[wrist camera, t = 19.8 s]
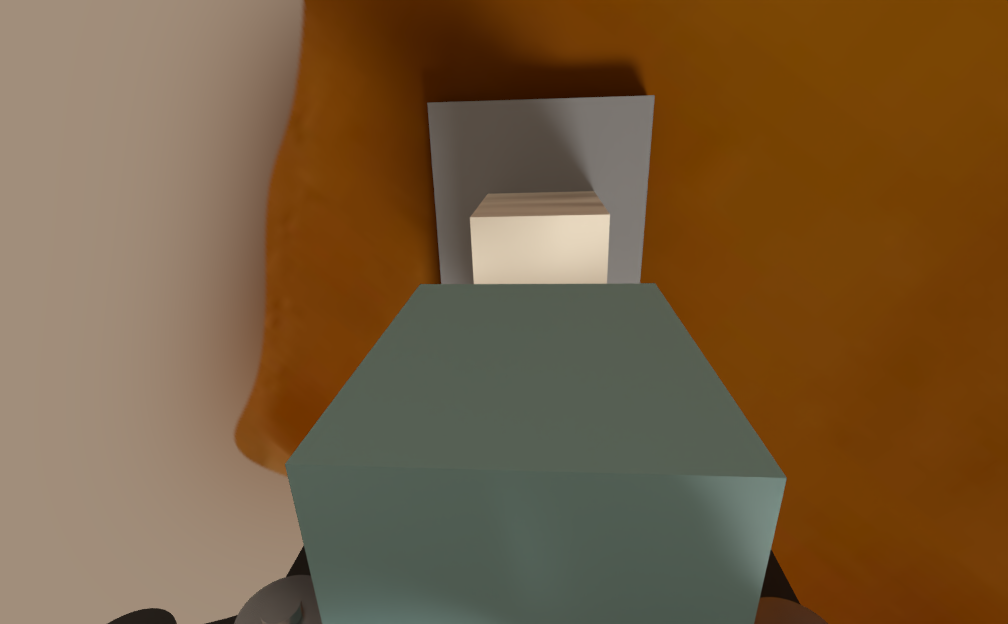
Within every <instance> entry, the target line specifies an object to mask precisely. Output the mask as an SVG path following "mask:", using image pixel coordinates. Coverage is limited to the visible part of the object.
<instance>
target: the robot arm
mask: <svg viewBox="0 0 1008 624" xmlns="http://www.w3.org/2000/svg"><path fill="white" fill-rule="evenodd" d="M108 624H177V623H176V620H175V618H174V617H173V615H172V614H171V613H169V612H167V611H166V610H163V609H157V608H156V609H155V608H150V609H142V610H138V611H134V612H131V613H129V614H126V615H124V616H121V617H119V618H117V619H115V620H113V621H111V622H110V623H108ZM206 624H322V620H321V616H320V612H319V608H318V603H317V599H316V595H315V590H314V586H313V582H312V578H311V573H310V569H309V565H308V560H307V556H306V552H305V548H304V546H303V548H302V550H301V551H300V553H299V555H298V557H297V559H296V560H295V562H294V564H293V566H292V567H291V569H290V571H289V573H288V574H287V576H286V577H285V578H282V579H279V580H277V581H274V582H272V583H270V584H269V585H267V586H265V587H264V588H262V589H261V590H259V591H258V592H257V593H256V594H255V595H253V596H252V597H251V598H250V599H249V600H248V602H246V604H245V605H244V606H243V608H242V609H241V610H240V612H239V614H238V615H236V616H233V617H230V618H227V619H222V620H218V621H214V622H211V623H206ZM754 624H828V623H827V622H826V621H825V620H823V619H822V618H821V617H820V616H818V615H817V614H816V613H814V612H813V611H811V610H809V609H808V608H806V607H804V606H802V605H801V604H800V603H799V601H798V599H797V597H796V596H795V594H794V592H793V590H792V588H791V586H790V584H789V582H788V580H787V579H786V577H785V575H784V573H783V571H782V569H781V567H780V565H779V563H778V562H777V560H776V558H775V556H774V554H773V552H772V550H770V555H769V559H768V564H767V568H766V573H765V577H764V581H763V586H762V590H761V595H760V599H759V604H758V608H757V613H756V617H755V622H754Z"/></svg>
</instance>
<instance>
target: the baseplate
mask: <svg viewBox="0 0 1008 624" xmlns="http://www.w3.org/2000/svg"><path fill="white" fill-rule="evenodd" d="M654 97H655V95H650V96H619V97H588V98H556V99H525V100H494V101H462V102H431V103H427V105H428V118H429V131H430V144H431V157H432V170H433V183H434V196H435V208H436V221H437V234H438V247H439V260H440V273H441V284H474V278H473V261H472V245H471V228H470V217H471V215H472V214H473V213H474V211H475V210H476V209H477V207H478V206H479V205H480V203H481V202H482V201H483V199H484V198H485V197H486V195H487V194H498V193H538V192H579V191H594V192H595V193H596V195H597V196H598V198H599V199H600V201H601V202H602V203H603V205H604V206H605V208H606V209H607V211H608V212H609V214H610V226H609V248H608V271H607V284H640V275H641V262H642V250H643V237H644V224H645V211H646V199H647V186H648V173H649V160H650V148H651V135H652V122H653V109H654Z"/></svg>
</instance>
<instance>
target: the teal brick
mask: <svg viewBox="0 0 1008 624" xmlns="http://www.w3.org/2000/svg"><path fill="white" fill-rule="evenodd" d="M285 466H286V470H287V475H288V479H289V483H290V487H291V492H292V496H293V500H294V504H295V509H296V513H297V517H298V522H299V526H300V530H301V535H302V539H303V543H304V548H305V552H306V556H307V560H308V565H309V569H310V573H311V578H312V582H313V586H314V590H315V595H316V599H317V603H318V608H319V612H320V616H321V620H322V624H754V622H755V617H756V613H757V608H758V604H759V599H760V595H761V590H762V586H763V581H764V577H765V573H766V568H767V564H768V559H769V555H770V550H771V546H772V541H773V537H774V532H775V528H776V523H777V519H778V514H779V510H780V506H781V501H782V497H783V492H784V488H785V483H786V479H787V478H786V476H785V475H784V473H783V472H782V470H781V469H780V467H779V466H778V464H777V463H776V461H775V460H774V458H773V457H772V456H771V454H770V453H769V451H768V450H767V448H766V447H765V445H764V444H763V442H762V441H761V439H760V438H759V436H758V435H757V433H756V432H755V430H754V429H753V427H752V426H751V425H750V423H749V422H748V420H747V419H746V417H745V416H744V414H743V413H742V411H741V410H740V408H739V407H738V405H737V404H736V402H735V401H734V399H733V398H732V396H731V395H730V393H729V392H728V391H727V389H726V388H725V386H724V385H723V383H722V382H721V380H720V379H719V377H718V376H717V374H716V373H715V371H714V370H713V368H712V367H711V365H710V364H709V362H708V361H707V360H706V358H705V357H704V355H703V354H702V352H701V351H700V349H699V348H698V346H697V345H696V343H695V342H694V340H693V339H692V337H691V336H690V334H689V333H688V331H687V330H686V328H685V327H684V326H683V324H682V323H681V321H680V320H679V318H678V317H677V315H676V314H675V312H674V311H673V309H672V308H671V306H670V305H669V303H668V302H667V300H666V299H665V297H664V296H663V294H662V293H661V292H660V290H659V289H658V287H657V286H656V284H655V283H645V284H420V285H419V287H418V288H417V289H416V291H415V292H414V293H413V295H412V296H411V297H410V299H409V300H408V301H407V303H406V304H405V305H404V307H403V308H402V309H401V311H400V312H399V313H398V315H397V316H396V317H395V319H394V320H393V321H392V323H391V324H390V325H389V327H388V328H387V329H386V331H385V332H384V333H383V335H382V336H381V337H380V339H379V340H378V341H377V343H376V344H375V345H374V347H373V348H372V349H371V351H370V352H369V353H368V355H367V356H366V357H365V359H364V360H363V361H362V363H361V364H360V365H359V367H358V368H357V369H356V371H355V372H354V373H353V374H352V376H351V377H350V378H349V380H348V381H347V382H346V384H345V385H344V386H343V388H342V389H341V390H340V392H339V393H338V394H337V396H336V397H335V398H334V400H333V401H332V402H331V404H330V405H329V406H328V408H327V409H326V410H325V412H324V413H323V414H322V416H321V417H320V418H319V420H318V421H317V422H316V424H315V425H314V426H313V428H312V429H311V430H310V432H309V433H308V434H307V436H306V437H305V438H304V440H303V441H302V442H301V444H300V445H299V446H298V448H297V449H296V450H295V452H294V453H293V454H292V456H291V457H290V458H289V460H288V461H287V462H286V464H285Z"/></svg>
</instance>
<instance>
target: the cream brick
mask: <svg viewBox="0 0 1008 624" xmlns="http://www.w3.org/2000/svg"><path fill="white" fill-rule="evenodd" d="M609 226H610V214H609V212H608V211H607V209H606V208H605V206H604V205H603V203H602V202H601V201H600V199H599V198H598V196H597V195H596V193H595V192H594V191H579V192H538V193H498V194H487V195H486V197H485V198H484V199H483V201H482V202H481V203H480V205H479V206H478V207H477V209H476V210H475V211H474V213H473V214H472V215H471V217H470V228H471V245H472V261H473V278H474V284H607V271H608V248H609Z"/></svg>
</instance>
